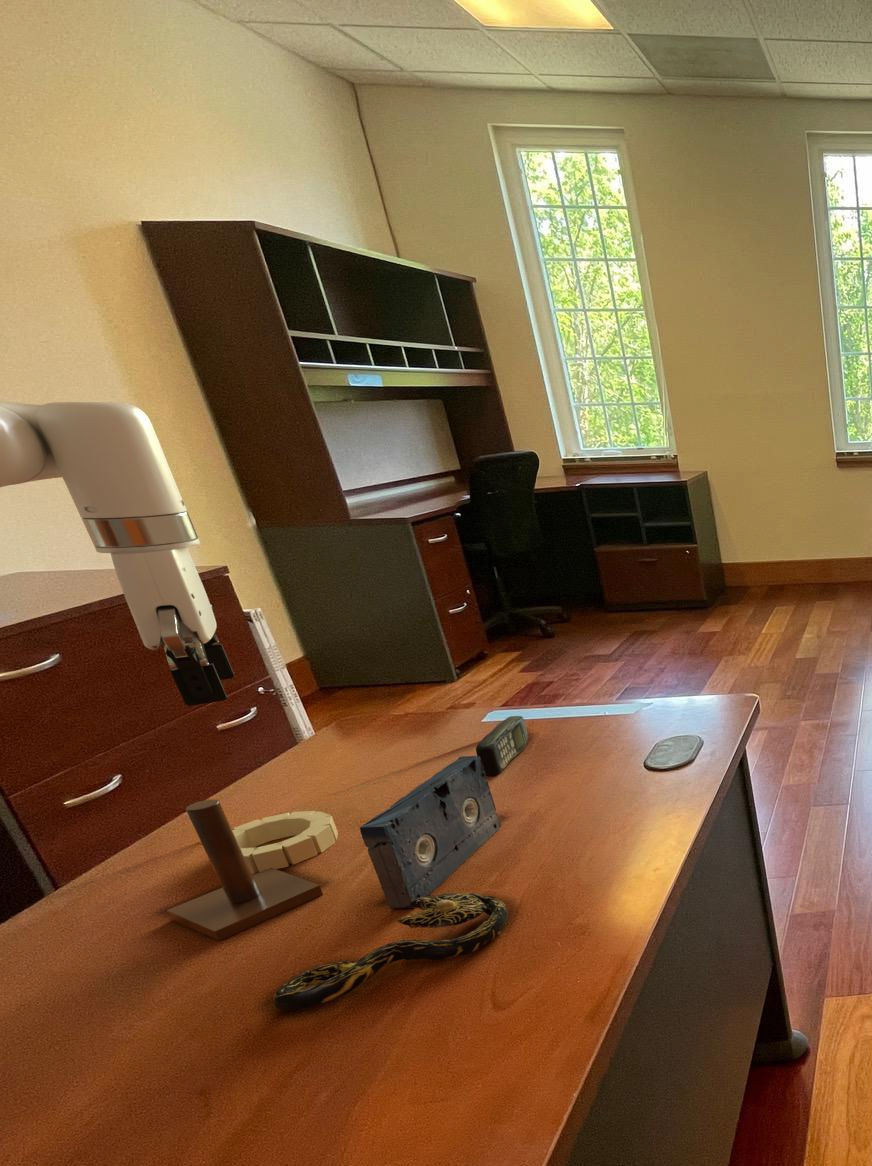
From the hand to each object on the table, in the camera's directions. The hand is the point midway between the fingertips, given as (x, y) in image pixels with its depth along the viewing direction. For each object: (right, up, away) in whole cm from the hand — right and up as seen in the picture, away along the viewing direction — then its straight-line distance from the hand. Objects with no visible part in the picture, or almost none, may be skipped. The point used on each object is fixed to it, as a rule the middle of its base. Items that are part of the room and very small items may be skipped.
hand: (212, 690), depth 87 cm
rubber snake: (+31, -27, -12) cm, 43 cm away
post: (+8, -23, -4) cm, 25 cm away
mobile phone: (+12, -8, +32) cm, 35 cm away
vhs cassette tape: (+24, -20, +4) cm, 31 cm away
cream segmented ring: (+1, -19, +6) cm, 20 cm away
